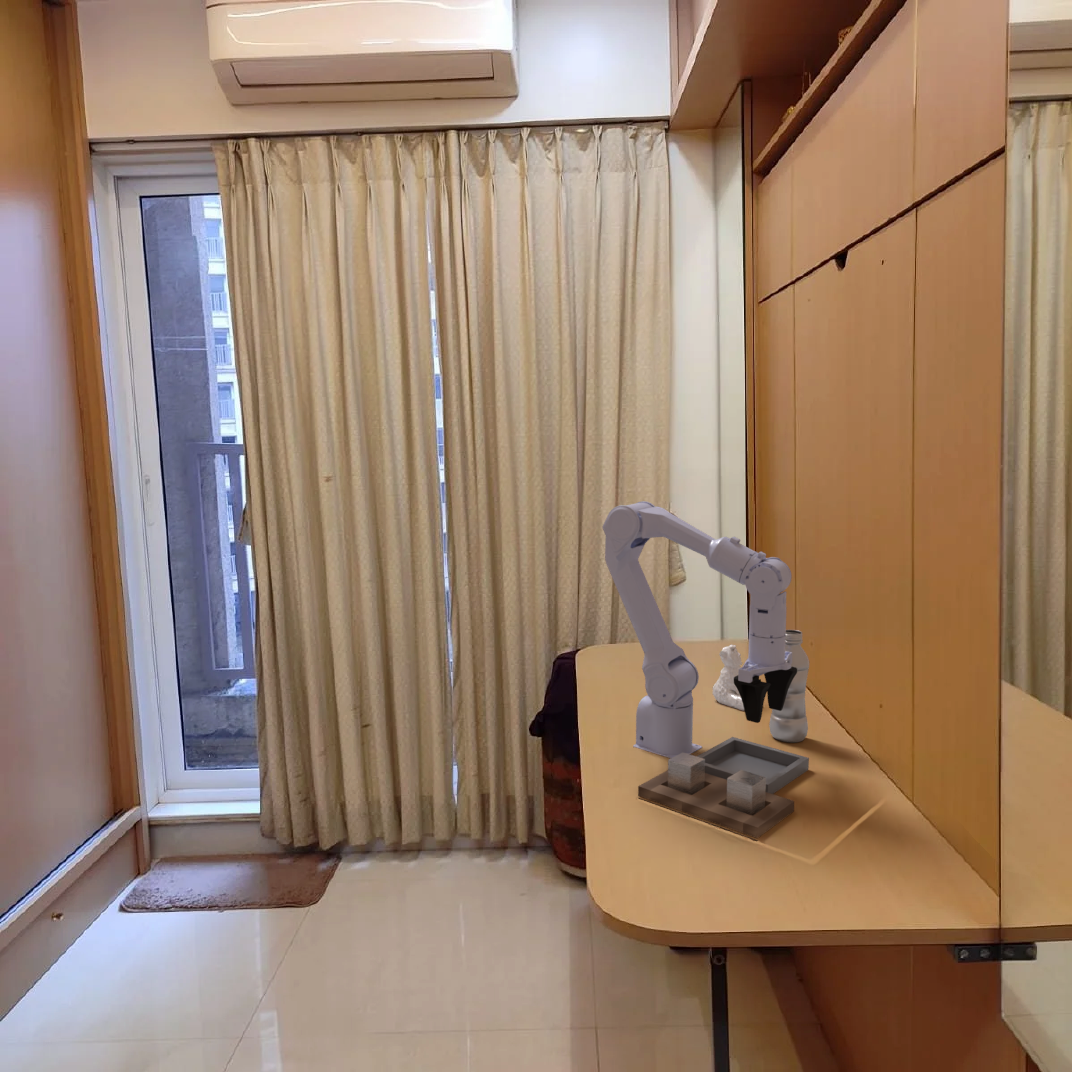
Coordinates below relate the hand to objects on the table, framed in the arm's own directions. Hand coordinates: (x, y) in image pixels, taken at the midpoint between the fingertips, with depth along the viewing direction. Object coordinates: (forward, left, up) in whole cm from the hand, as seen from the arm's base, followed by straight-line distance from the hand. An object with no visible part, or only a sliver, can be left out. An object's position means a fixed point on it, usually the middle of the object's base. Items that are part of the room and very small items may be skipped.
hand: (764, 715), depth 139 cm
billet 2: (+6, -17, -10) cm, 20 cm away
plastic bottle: (-3, +15, -10) cm, 18 cm away
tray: (-1, -3, -9) cm, 10 cm away
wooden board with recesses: (+1, -17, -9) cm, 19 cm away
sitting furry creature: (-21, +27, -10) cm, 36 cm away
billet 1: (-4, -17, -10) cm, 20 cm away
